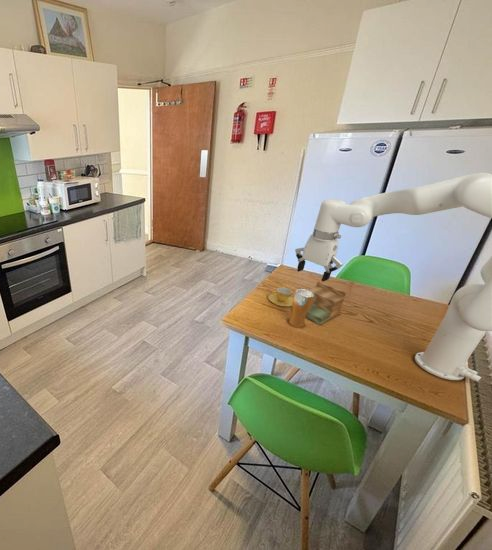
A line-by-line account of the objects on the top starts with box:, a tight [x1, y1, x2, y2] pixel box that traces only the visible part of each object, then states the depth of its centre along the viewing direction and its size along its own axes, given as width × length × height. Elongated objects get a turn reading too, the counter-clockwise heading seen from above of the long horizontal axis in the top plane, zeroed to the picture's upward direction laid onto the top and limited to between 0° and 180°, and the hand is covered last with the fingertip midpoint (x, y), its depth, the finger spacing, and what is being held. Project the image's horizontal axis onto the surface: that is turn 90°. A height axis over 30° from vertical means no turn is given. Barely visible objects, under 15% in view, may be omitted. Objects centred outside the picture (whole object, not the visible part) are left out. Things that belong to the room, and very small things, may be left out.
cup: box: [267, 286, 294, 307], centre depth 142 cm, size 12×12×5 cm
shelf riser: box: [305, 281, 348, 326], centre depth 131 cm, size 12×15×11 cm
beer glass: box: [288, 288, 314, 328], centre depth 123 cm, size 7×7×15 cm
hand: (311, 275), depth 116 cm, fingers open, 9 cm apart
